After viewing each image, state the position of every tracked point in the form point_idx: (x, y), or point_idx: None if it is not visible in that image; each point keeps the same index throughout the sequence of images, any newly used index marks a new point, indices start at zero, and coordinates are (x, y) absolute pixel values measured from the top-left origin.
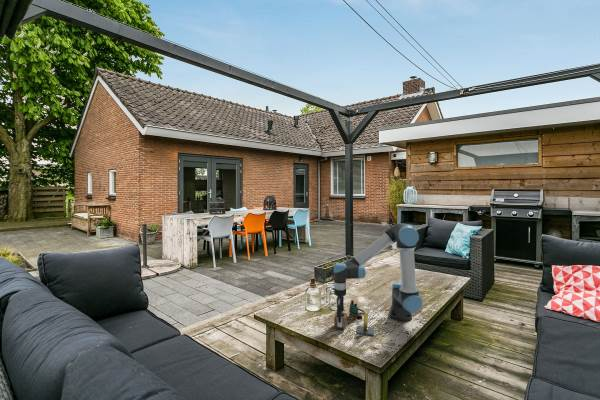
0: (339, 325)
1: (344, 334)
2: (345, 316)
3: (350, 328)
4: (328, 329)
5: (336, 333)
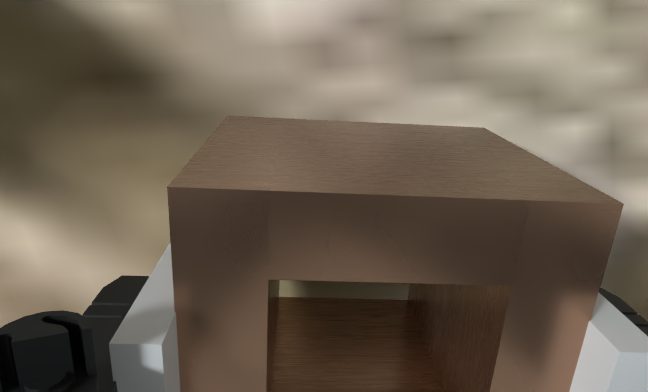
0: None
1: (587, 126)
2: (467, 214)
3: (332, 20)
4: None
5: None
